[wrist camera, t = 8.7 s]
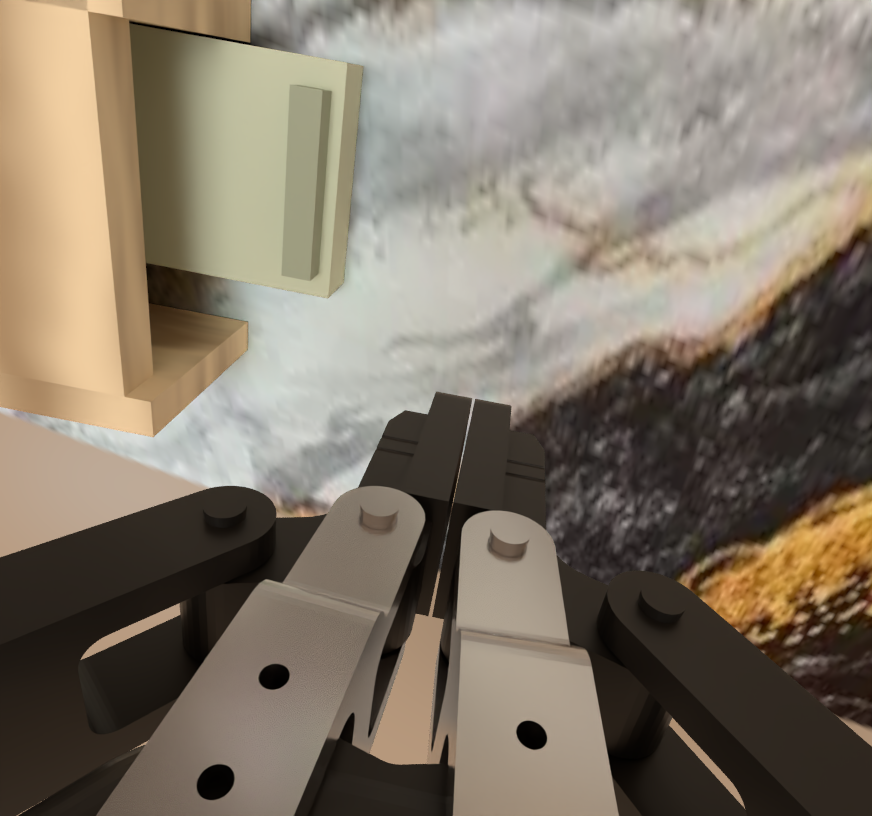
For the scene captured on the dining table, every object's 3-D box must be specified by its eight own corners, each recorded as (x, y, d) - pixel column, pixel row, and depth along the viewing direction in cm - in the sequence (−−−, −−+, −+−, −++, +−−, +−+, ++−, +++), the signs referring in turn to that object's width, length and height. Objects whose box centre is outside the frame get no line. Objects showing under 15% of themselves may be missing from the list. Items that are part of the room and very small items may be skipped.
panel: (365, 66, 25) (338, 61, 21) (345, 280, 29) (320, 306, 26) (106, 19, 26) (36, 6, 22) (123, 237, 30) (66, 257, 26)
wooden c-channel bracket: (250, -2, 24) (118, -50, 16) (247, 349, 31) (153, 437, 23) (55, -35, 24) (-170, -98, 17) (95, 320, 31) (-50, 396, 23)
